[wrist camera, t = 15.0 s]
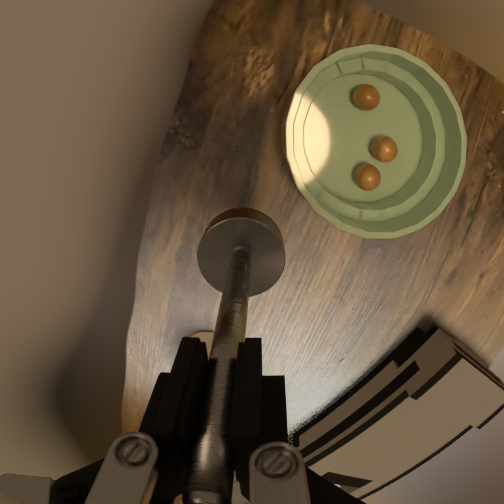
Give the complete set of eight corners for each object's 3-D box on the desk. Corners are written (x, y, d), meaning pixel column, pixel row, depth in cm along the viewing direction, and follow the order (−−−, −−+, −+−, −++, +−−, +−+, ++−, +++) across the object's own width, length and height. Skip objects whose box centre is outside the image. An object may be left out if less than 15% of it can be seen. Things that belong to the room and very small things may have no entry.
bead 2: (388, 171, 26) (367, 168, 28) (375, 161, 24) (353, 158, 26) (381, 196, 26) (360, 191, 28) (367, 188, 25) (345, 183, 27)
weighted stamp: (251, 190, 18) (211, 460, 4) (299, 254, 20) (348, 522, 5) (187, 237, 20) (65, 481, 5) (235, 294, 21) (201, 543, 7)
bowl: (278, 54, 24) (282, 37, 18) (432, 71, 23) (465, 64, 18) (282, 217, 30) (286, 239, 24) (427, 218, 29) (456, 238, 24)
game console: (269, 446, 44) (269, 489, 37) (426, 310, 33) (456, 353, 26) (355, 470, 48) (361, 504, 41) (490, 365, 37) (513, 398, 30)
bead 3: (403, 152, 25) (380, 146, 27) (399, 133, 24) (375, 128, 25) (393, 171, 25) (370, 164, 27) (389, 152, 23) (364, 146, 25)
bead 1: (368, 74, 23) (383, 89, 22) (373, 94, 25) (387, 109, 24) (344, 85, 23) (358, 100, 22) (351, 104, 25) (364, 120, 24)
